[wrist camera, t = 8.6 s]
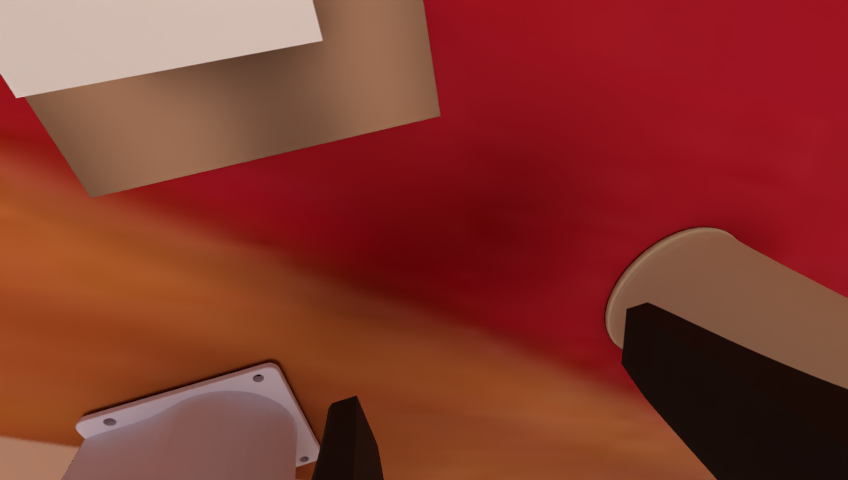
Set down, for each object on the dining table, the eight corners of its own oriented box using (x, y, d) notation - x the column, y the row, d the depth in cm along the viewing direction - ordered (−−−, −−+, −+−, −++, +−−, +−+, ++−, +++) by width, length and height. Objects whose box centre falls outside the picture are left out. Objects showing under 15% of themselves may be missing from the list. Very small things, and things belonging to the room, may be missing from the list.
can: (587, 357, 26) (767, 581, 15) (631, 229, 21) (921, 419, 11) (703, 342, 28) (931, 531, 17) (764, 223, 23) (1113, 377, 13)
